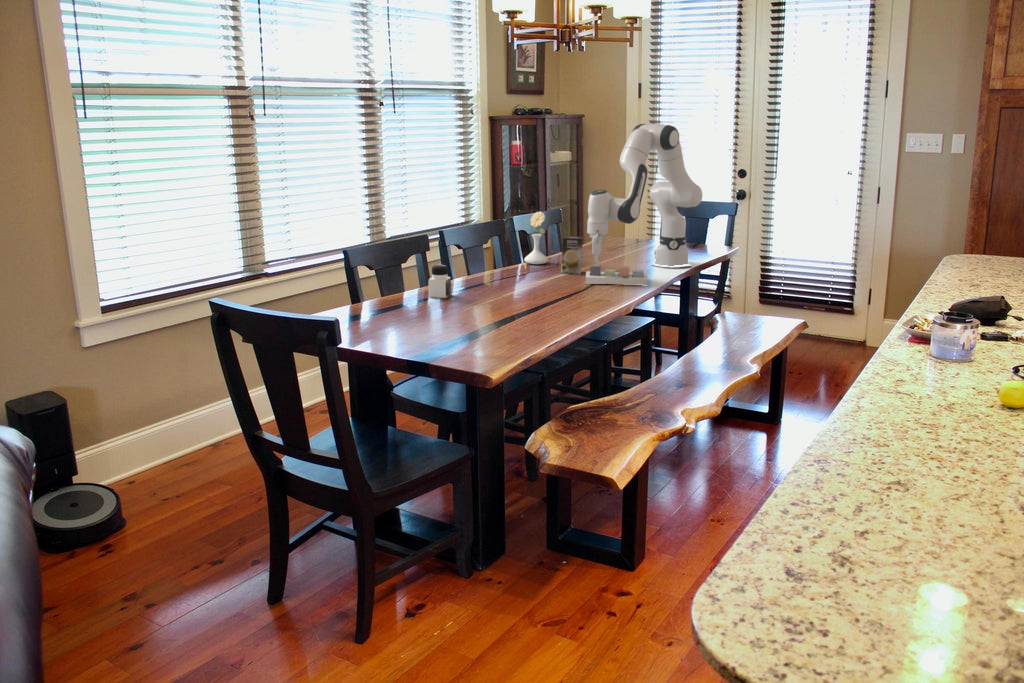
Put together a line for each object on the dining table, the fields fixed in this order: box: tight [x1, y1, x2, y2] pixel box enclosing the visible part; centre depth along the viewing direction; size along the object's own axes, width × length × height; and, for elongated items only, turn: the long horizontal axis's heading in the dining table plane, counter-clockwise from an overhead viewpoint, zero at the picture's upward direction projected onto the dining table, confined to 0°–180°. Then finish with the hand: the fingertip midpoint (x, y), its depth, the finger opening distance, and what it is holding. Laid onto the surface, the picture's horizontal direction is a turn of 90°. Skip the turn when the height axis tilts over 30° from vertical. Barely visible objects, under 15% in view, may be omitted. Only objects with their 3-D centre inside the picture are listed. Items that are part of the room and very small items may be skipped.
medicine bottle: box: [428, 264, 452, 299], centre depth 335 cm, size 7×7×12 cm
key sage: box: [603, 268, 616, 276], centre depth 367 cm, size 4×4×4 cm
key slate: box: [632, 269, 645, 277], centre depth 365 cm, size 4×4×4 cm
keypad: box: [584, 270, 649, 286], centre depth 366 cm, size 14×26×3 cm, turn 84°
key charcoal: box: [589, 264, 602, 276], centre depth 367 cm, size 4×4×4 cm
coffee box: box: [560, 235, 583, 275], centre depth 384 cm, size 9×6×16 cm
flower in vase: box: [523, 211, 549, 265], centre depth 403 cm, size 13×11×25 cm
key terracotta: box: [618, 265, 630, 277], centre depth 365 cm, size 4×4×4 cm
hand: (596, 261), depth 365 cm, fingers closed
